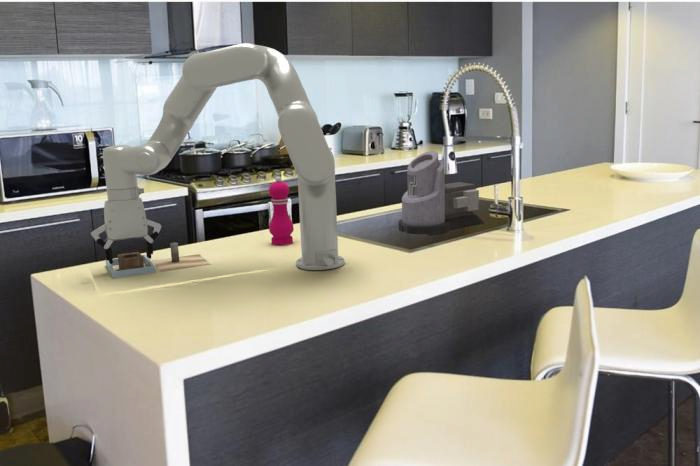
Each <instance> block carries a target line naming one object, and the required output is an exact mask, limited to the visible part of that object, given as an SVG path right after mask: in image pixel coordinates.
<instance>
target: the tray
mask: <svg viewBox="0 0 700 466" xmlns="http://www.w3.org/2000/svg"><path fill="white" fill-rule="evenodd" d="M141 255H142V257H143V262H144V264H145V265H146V266H144V267H141V268H134V269H127V270H115V268H114V267H113V266H119V264H118V257H117V258H112V259H113V263H112V264H110V263H109V260H107V261H106V260H105V266H106V268H107V271H108V272H109V273H110V276H111V278H112V279H114V280H115V279H121V278H127V277H132V276H141V275H147V274H154V273H156V272H157V271H156V265H155V264H154V263H153V262H152V261H151V258H150V259H149V258H148V257H147V255H146V254H141Z"/></svg>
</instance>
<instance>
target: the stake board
mask: <svg viewBox="0 0 700 466" xmlns="http://www.w3.org/2000/svg"><path fill="white" fill-rule="evenodd" d="M169 245H170V246H169V247H170V255H171V256H170V257H168V258H162V259H155V260H154V259H153V260H152V261H151V262H152V263H153V264H154V265H155V267H157V269H158V271H160V272H161V273H163V272H169V271H177V270H183V269H190V268H197V267H203V266H204V267H205V266H210V265H212V264H211V263H210V261H208V260H207V259H205V258H204V257H203V256H202V255H201V254H199V253H198V254H191V255H182V256H180V251H179V250H180V249H179V243H178V242H170V243H169Z"/></svg>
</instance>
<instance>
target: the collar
mask: <svg viewBox="0 0 700 466" xmlns="http://www.w3.org/2000/svg"><path fill="white" fill-rule="evenodd" d="M142 255H143V254H141V253H140V252H139V251H136V252H135V251H134V252H125V253H120V254H117V258H118V264H119V265H118V271H120V270H127V269H134V268H141V267H145V262H144V261H143V257H142Z"/></svg>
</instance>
